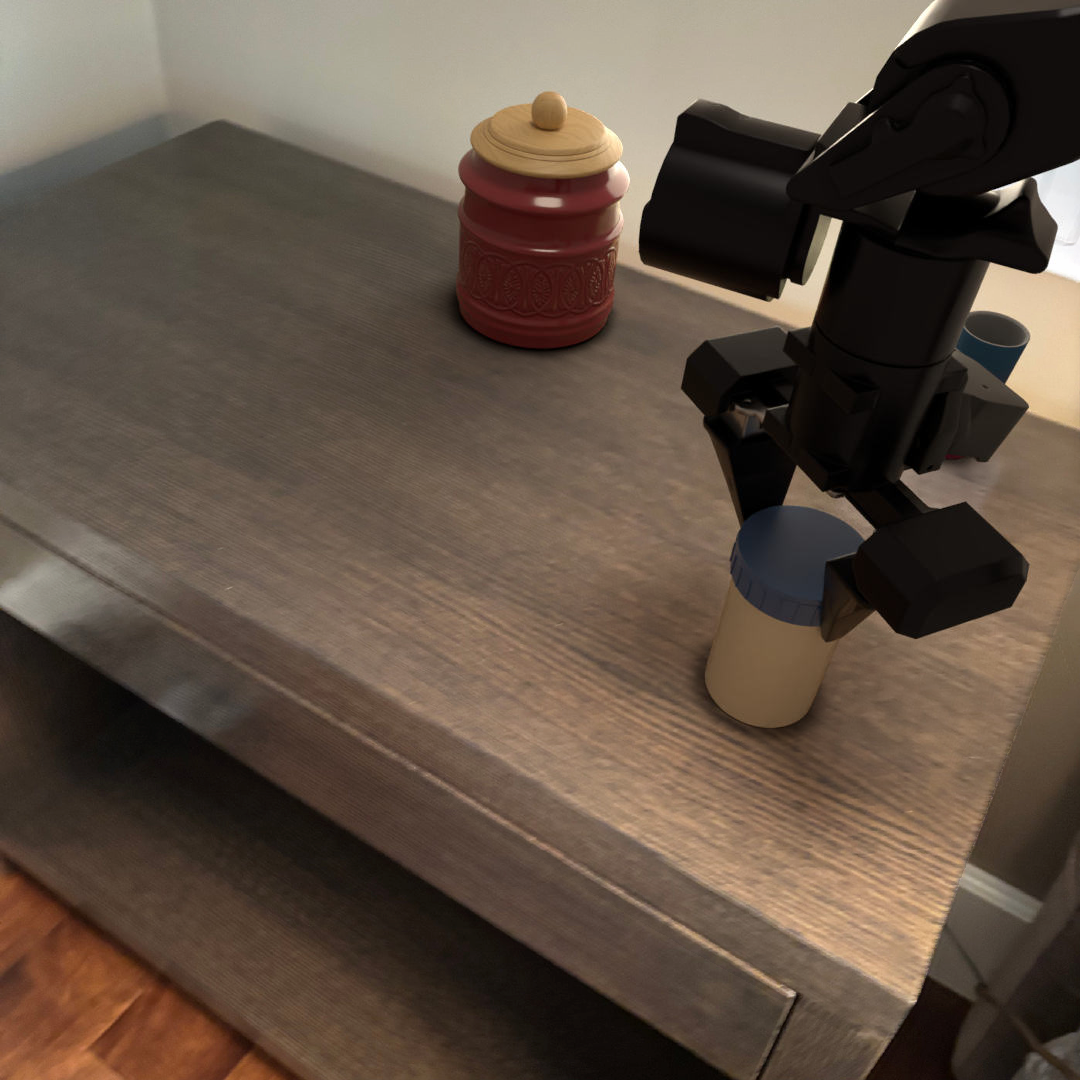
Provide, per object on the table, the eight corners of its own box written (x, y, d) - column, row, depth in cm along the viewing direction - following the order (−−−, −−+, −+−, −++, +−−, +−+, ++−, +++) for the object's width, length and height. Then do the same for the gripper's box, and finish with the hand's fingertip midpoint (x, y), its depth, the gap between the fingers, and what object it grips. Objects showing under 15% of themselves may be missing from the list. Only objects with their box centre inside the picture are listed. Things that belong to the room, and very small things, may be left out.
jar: (808, 649, 60) (857, 523, 53) (818, 735, 56) (873, 610, 49) (703, 635, 60) (739, 508, 53) (704, 720, 56) (743, 594, 49)
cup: (921, 418, 78) (968, 303, 71) (980, 439, 77) (1035, 323, 70) (906, 450, 75) (955, 332, 68) (969, 472, 74) (1024, 354, 67)
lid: (855, 539, 55) (866, 512, 53) (872, 636, 50) (884, 609, 48) (727, 523, 55) (734, 496, 53) (730, 618, 50) (738, 591, 48)
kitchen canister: (640, 333, 84) (676, 116, 72) (499, 367, 79) (511, 141, 67) (563, 259, 92) (583, 52, 80) (430, 286, 87) (430, 70, 75)
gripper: (1207, 422, 39) (1038, 680, 49) (897, 204, 51) (816, 450, 61) (981, 485, 35) (852, 750, 46) (704, 233, 47) (654, 490, 58)
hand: (792, 590), depth 53 cm, fingers closed on lid, 7 cm apart
